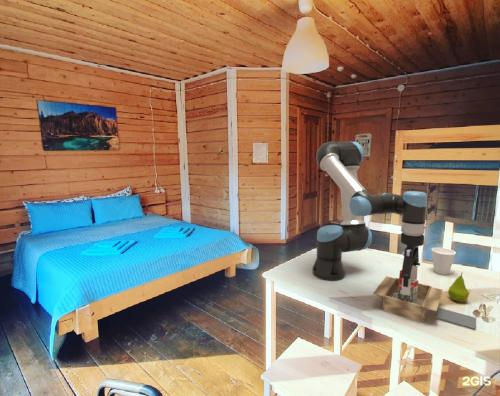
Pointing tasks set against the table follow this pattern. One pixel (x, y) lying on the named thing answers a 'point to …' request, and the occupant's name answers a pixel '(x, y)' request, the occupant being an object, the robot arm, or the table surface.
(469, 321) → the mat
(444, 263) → the cup
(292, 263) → the table surface
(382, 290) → the carton
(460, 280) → the fruit
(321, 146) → the robot arm
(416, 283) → the ink box
